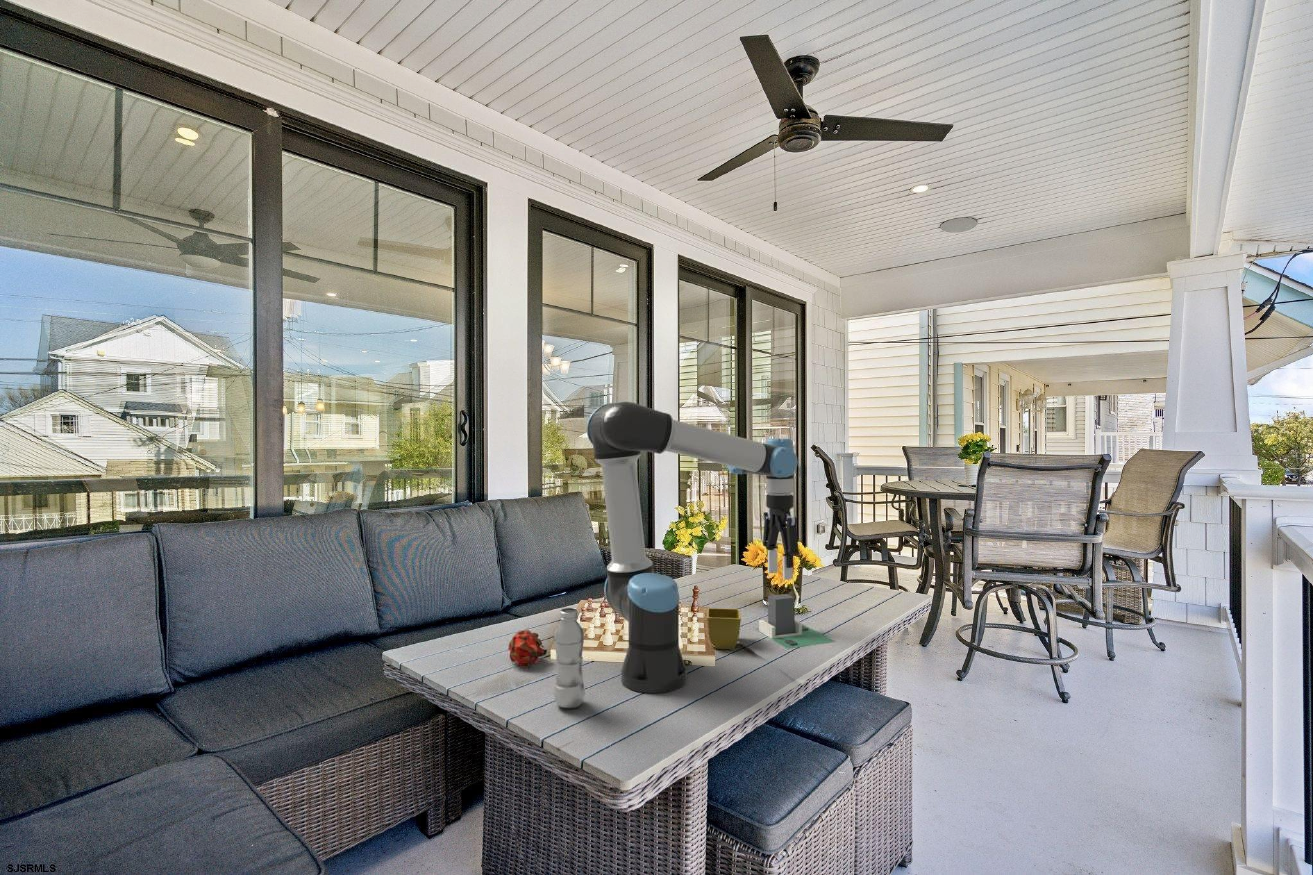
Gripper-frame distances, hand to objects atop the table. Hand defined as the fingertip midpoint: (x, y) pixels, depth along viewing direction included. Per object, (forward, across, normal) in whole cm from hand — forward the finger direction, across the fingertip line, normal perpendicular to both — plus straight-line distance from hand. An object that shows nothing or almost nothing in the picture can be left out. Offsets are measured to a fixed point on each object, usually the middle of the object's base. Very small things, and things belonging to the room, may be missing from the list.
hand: (780, 575), depth 169 cm
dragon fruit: (+17, +6, +69) cm, 71 cm away
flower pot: (+17, -1, +18) cm, 25 cm away
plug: (+16, 0, 0) cm, 16 cm away
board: (+17, -3, -2) cm, 18 cm away
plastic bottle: (+17, -21, +64) cm, 70 cm away
